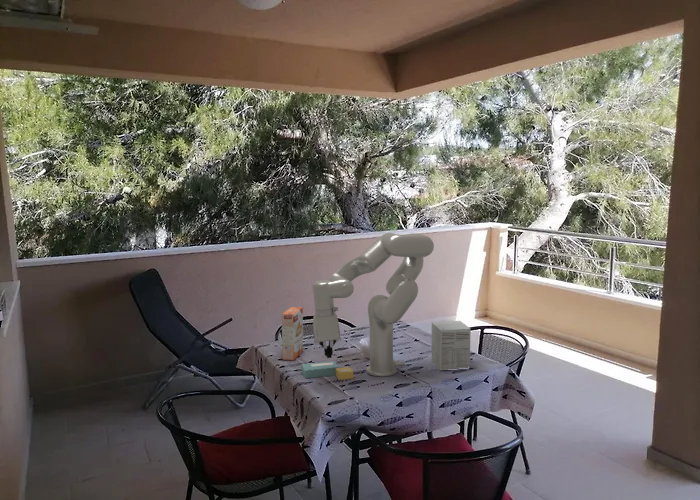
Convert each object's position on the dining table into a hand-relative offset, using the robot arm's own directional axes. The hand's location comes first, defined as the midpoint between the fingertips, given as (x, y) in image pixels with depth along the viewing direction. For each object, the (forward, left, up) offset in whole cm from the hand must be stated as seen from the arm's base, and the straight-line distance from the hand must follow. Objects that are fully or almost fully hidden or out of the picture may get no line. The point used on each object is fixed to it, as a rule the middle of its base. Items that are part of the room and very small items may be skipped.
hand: (329, 356), depth 213 cm
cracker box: (+10, -32, -9) cm, 35 cm away
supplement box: (-52, -1, -9) cm, 53 cm away
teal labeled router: (+2, -7, -9) cm, 12 cm away
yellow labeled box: (-6, 0, -9) cm, 11 cm away
